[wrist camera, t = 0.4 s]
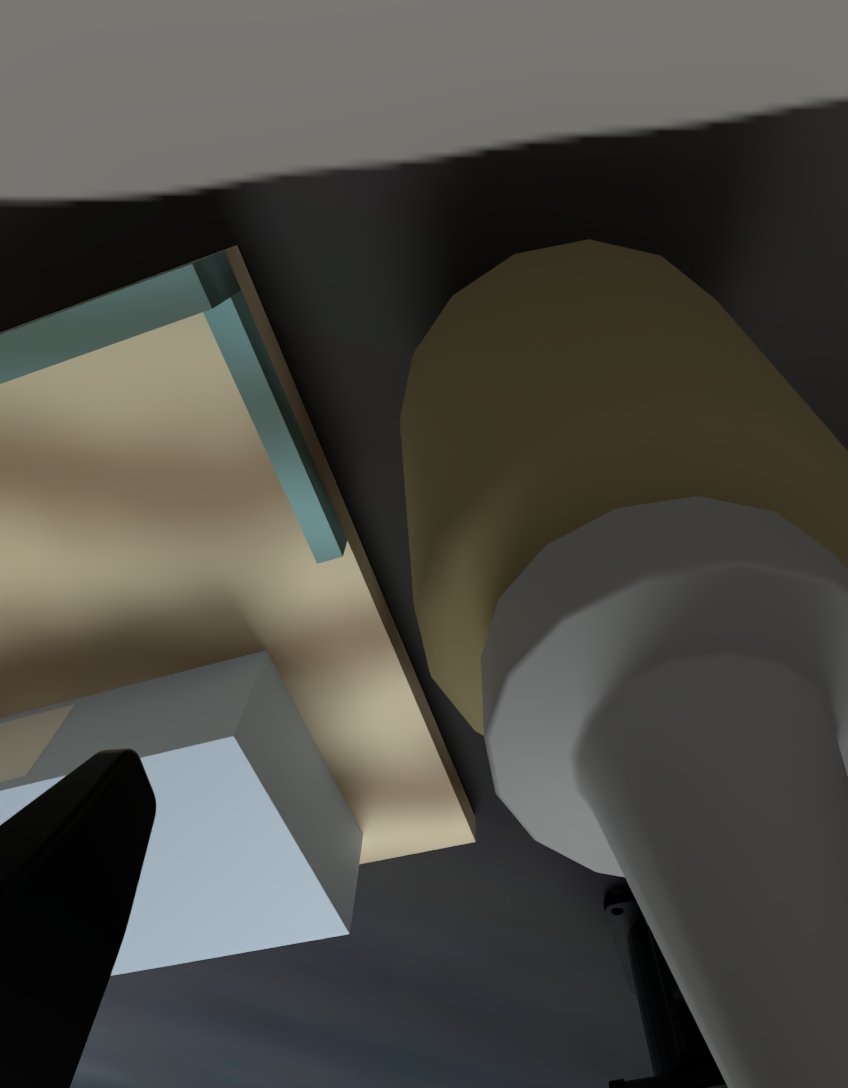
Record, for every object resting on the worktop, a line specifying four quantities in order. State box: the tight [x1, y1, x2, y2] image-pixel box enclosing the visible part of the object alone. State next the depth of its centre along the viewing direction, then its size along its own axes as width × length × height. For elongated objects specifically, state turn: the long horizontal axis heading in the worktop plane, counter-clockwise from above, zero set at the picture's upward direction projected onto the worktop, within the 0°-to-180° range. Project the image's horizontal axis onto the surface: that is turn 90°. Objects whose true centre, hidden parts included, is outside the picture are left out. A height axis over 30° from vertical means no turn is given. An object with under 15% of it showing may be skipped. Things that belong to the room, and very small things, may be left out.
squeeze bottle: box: [400, 239, 848, 1088], centre depth 13 cm, size 8×8×18 cm
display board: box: [0, 245, 476, 864], centre depth 24 cm, size 22×20×4 cm
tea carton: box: [0, 650, 363, 976], centre depth 25 cm, size 9×12×4 cm
